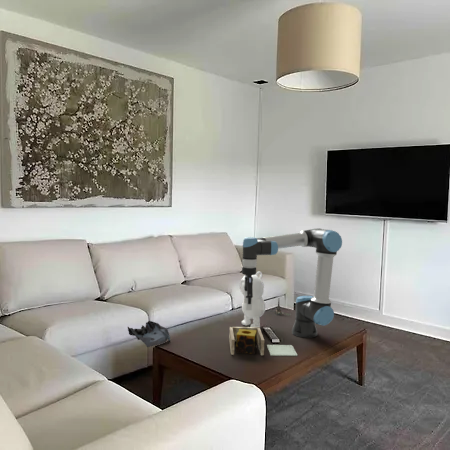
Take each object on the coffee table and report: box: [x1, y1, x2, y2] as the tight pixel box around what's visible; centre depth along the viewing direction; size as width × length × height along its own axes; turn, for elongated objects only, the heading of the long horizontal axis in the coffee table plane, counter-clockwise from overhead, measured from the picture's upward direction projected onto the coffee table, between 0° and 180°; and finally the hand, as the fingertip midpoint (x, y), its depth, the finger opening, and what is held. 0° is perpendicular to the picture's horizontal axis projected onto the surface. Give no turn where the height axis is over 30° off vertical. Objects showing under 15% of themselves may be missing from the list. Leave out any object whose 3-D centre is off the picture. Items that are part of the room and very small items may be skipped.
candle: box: [235, 329, 258, 355], centre depth 226 cm, size 10×10×10 cm
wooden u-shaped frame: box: [228, 326, 265, 356], centre depth 230 cm, size 17×21×8 cm
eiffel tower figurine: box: [273, 299, 292, 317], centre depth 296 cm, size 15×10×13 cm
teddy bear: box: [239, 270, 266, 328], centre depth 266 cm, size 19×18×35 cm
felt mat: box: [266, 344, 298, 357], centre depth 228 cm, size 14×14×1 cm
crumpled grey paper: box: [127, 320, 171, 348], centre depth 236 cm, size 18×20×9 cm
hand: (247, 306), depth 225 cm, fingers open, 13 cm apart
